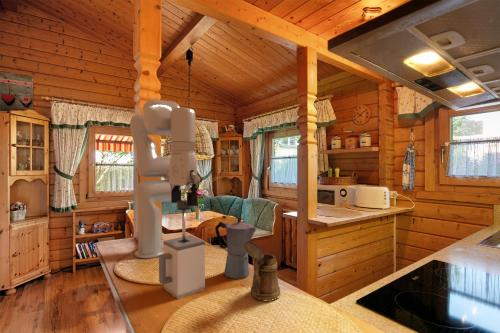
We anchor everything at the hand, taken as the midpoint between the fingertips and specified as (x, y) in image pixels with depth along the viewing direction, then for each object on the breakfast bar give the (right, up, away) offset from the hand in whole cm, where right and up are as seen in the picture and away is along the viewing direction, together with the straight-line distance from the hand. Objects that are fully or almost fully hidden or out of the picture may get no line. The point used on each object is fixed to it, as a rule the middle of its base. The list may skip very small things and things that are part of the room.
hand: (184, 204), depth 87 cm
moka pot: (+15, -27, +12) cm, 33 cm away
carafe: (-1, -27, 0) cm, 27 cm away
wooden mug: (+24, -27, -5) cm, 36 cm away
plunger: (0, -15, 0) cm, 15 cm away
